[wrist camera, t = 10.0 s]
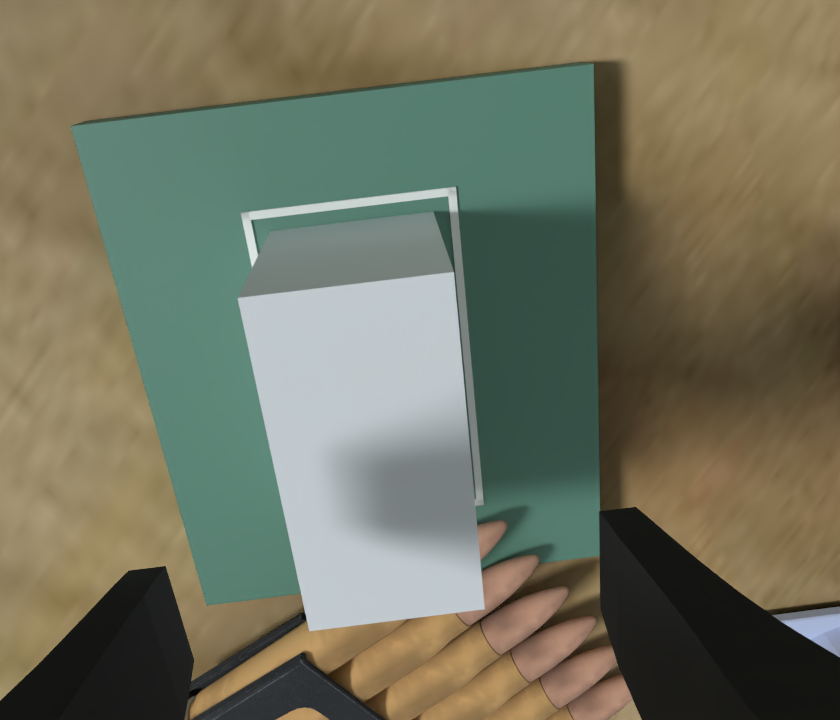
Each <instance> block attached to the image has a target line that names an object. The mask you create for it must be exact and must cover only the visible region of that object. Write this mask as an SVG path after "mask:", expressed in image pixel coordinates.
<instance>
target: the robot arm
mask: <svg viewBox="0 0 840 720" xmlns="http://www.w3.org/2000/svg"><path fill="white" fill-rule="evenodd" d="M599 540H600V602H601V611H602V615H603V618H604V621H605V625H606V628H607V631H608V635H609V638H610V641H611V645H612V648H613V651H614V654H615V657H616V660H617V663H618V666H619V668H620V671H621V673H622V675H623V678H624V680H625V682H626V685H627V687H628V689H629V691H630V694H631V696H632V698H633V701H634V703H635V705H636V707H637V710H638V712H639V714H640V716H641V719H642V720H840V607H832V608H824V609H817V610H809V611H801V612H793V613H785V614H778V615H771V614H770V613H768V612H767V611H765V610H764V609H762V608H761V607H759V606H758V605H757V604H755V603H754V602H752V601H751V600H749V599H748V598H747V597H745V596H744V595H742V594H741V593H740V592H738V591H737V590H736V589H734V588H733V587H732V586H731V585H729V584H728V583H727V582H725V581H724V580H723V579H722V578H720V577H719V576H718V575H717V574H715V573H714V572H713V571H711V570H710V569H709V568H708V567H706V566H705V565H704V564H703V563H701V562H700V561H699V560H698V559H696V558H695V557H694V556H693V555H692V554H690V553H689V552H688V551H687V550H686V549H684V548H683V547H682V546H681V545H680V544H679V543H677V542H676V541H675V540H674V539H673V538H671V537H670V536H669V535H668V534H667V533H666V532H664V531H663V530H662V529H661V528H660V527H659V526H658V525H656V524H655V523H654V522H653V521H652V520H651V519H649V518H648V517H647V516H646V515H645V514H643V513H642V512H641V511H640V510H639V509H637V508H636V507H632V508H624V509H616V510H608V511H600V512H599ZM193 663H194V659H193V655H192V652H191V649H190V645H189V642H188V639H187V635H186V632H185V629H184V626H183V622H182V619H181V616H180V612H179V609H178V606H177V603H176V599H175V596H174V593H173V589H172V586H171V583H170V580H169V576H168V573H167V570H166V566H163V567H155V568H147V569H139V570H131V571H128V572H127V573H126V574H125V575H124V576H123V577H122V578H121V579H120V580H119V581H118V582H117V583H116V584H115V585H114V586H113V587H112V588H111V589H110V590H109V591H108V592H107V593H106V594H105V595H104V596H103V598H102V599H101V600H100V601H99V602H98V603H97V604H96V605H95V606H94V607H93V608H92V609H91V610H90V611H89V612H88V613H87V615H86V616H85V617H84V618H83V619H82V620H81V621H80V622H79V623H78V624H77V625H76V626H75V627H74V628H73V629H72V630H71V631H70V632H69V633H68V634H67V635H66V637H65V638H64V639H63V640H62V641H61V642H60V643H59V644H58V645H57V646H56V647H55V648H54V649H53V650H52V651H51V652H50V653H49V654H48V655H47V656H46V657H45V658H44V659H43V660H42V661H41V662H40V663H39V664H38V665H37V666H36V667H35V668H34V669H33V670H32V671H31V672H30V673H29V674H28V675H27V676H26V677H25V678H24V679H23V680H22V681H21V682H20V683H18V684H17V685H16V686H15V687H14V688H13V689H12V690H11V691H10V692H9V693H8V694H7V695H6V696H5V697H4V698H3V699H2V700H1V701H0V720H185V715H186V709H187V703H188V697H189V691H190V684H191V677H192V670H193Z"/></svg>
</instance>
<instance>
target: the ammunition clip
mask: <svg viewBox="0 0 840 720" xmlns="http://www.w3.org/2000/svg"><path fill="white" fill-rule="evenodd" d="M507 526H508V524H507V522H506V521H505V520H497V521H491V522H486V523H483V524H480V525H477V529H478V540H479V551H480V561H481V560H482V559H483V558H484V557H485V556H486V555H487V554H488V553H489V552H490V550H491V549H492V548H493V547H494V546H495V545H496V544H497V543H498V541H499V540H500V539H501V537H502V536H503V534H504V532H505V531H506V529H507ZM539 560H540V558H539V556H538V555H536V554H530V555H523V556H519V557H515V558H512V559H509V560H506V561H503V562H500V563H498V564H495V565H493V566H490V567H488V568H486V569H484V570H482V571H481V573H482V584H483V595H484V606H485V609H483V610H475V611H467V612H459V613H451V614H443V615H435V616H427V617H419V618H411V619H403V620H395V621H388V622H380V623H372V624H364V625H356V626H348V627H340V628H332V629H324V630H316V631H309V628H308V623H307V619H306V615H305V614H303V613H302V614H299V615H298V616H296V617H295V618H293V619H291V620H290V621H288V622H287V623H285V624H283V625H282V626H280V627H279V628H277V629H275V630H274V631H272V632H270V633H269V634H267V635H266V636H264V637H262V638H261V639H259V640H258V641H256V642H254V643H253V644H251V645H250V646H248V647H246V648H245V649H243V650H241V651H240V652H238V653H237V654H235V655H233V656H232V657H230V658H229V659H227V660H225V661H224V662H222V663H221V664H219V665H217V666H216V667H214V668H212V669H211V670H209V671H208V672H206V673H204V674H203V675H201V676H200V677H198V678H196V679H195V680H193V681H192V682H191V684H190V691H189V697H188V703H187V709H186V715H185V720H608V719H609V718H611V717H612V716H613V715H615V714H616V713H617V712H619V711H620V710H621V709H622V708H623V707H624V706H626V705H627V704H628V703H629V702H630V701H631V700H632V699H633V698H632V696H631V694H630V691H629V689H628V687H627V685H626V682H625V680H624V678H623V675H622V674H621V675H618V676H614V677H611V678H609V679H606V680H603V681H601V682H599V683H597V682H598V681H599V680H600V679H601V678H602V677H603V676H604V675H605V674H606V673H607V672H608V671H609V670H610V669H611V668H612V667H613V666H614V665H615V663H616V662H617V660H616V657H615V654H614V651H613V648H612V645H607V646H602V647H598V648H595V649H591V650H588V651H585V652H582V653H580V654H577V655H575V656H573V657H571V658H569V659H566V660H564V659H565V658H566V657H568V656H569V655H570V654H571V653H572V652H573V651H574V650H575V649H576V648H577V647H578V646H579V645H580V644H581V643H582V642H583V641H584V640H585V639H586V638H587V637H588V636H589V634H590V633H591V632H592V630H593V629H594V627H595V625H596V623H597V619H596V617H595V616H584V617H578V618H574V619H570V620H567V621H564V622H561V623H558V624H555V625H553V626H550V627H548V628H546V629H544V630H542V631H540V632H538V633H536V634H534V635H532V636H530V635H531V634H532V633H534V632H535V631H536V630H537V629H539V628H540V627H541V626H542V625H543V624H544V623H545V622H546V621H547V620H548V619H549V618H550V617H551V616H552V615H553V614H554V613H555V612H556V611H557V610H558V609H559V608H560V606H561V605H562V604H563V602H564V601H565V599H566V598H567V596H568V594H569V589H568V587H567V586H559V587H552V588H547V589H544V590H541V591H538V592H535V593H532V594H529V595H526V596H524V597H522V598H519V599H517V600H515V601H513V602H511V603H509V604H507V605H505V606H503V607H501V608H499V609H498V610H496V611H494V612H493V613H491V614H490V615H488V616H486V617H485V618H483V619H481V618H482V617H484V616H485V615H487V614H488V613H490V612H491V611H493V610H494V609H495V608H497V607H498V606H499V605H500V604H501V603H503V602H504V601H505V600H506V599H508V598H509V597H510V596H511V595H512V594H513V593H514V592H515V591H516V590H517V589H518V588H519V587H520V586H521V585H522V584H523V583H524V582H525V581H526V580H527V579H528V578H529V576H530V575H531V574H532V572H533V571H534V569H535V568H536V566H537V565H538V563H539ZM529 636H530V637H529ZM527 637H528V638H527ZM563 660H564V661H563ZM561 661H562V662H561Z"/></svg>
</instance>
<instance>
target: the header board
mask: <svg viewBox="0 0 840 720" xmlns="http://www.w3.org/2000/svg"><path fill="white" fill-rule="evenodd" d="M71 129H72V132H73V136H74V139H75V143H76V146H77V150H78V153H79V157H80V160H81V164H82V168H83V171H84V175H85V178H86V182H87V185H88V189H89V192H90V196H91V199H92V203H93V206H94V210H95V213H96V217H97V220H98V224H99V227H100V231H101V235H102V238H103V242H104V245H105V249H106V252H107V256H108V259H109V263H110V266H111V270H112V273H113V277H114V280H115V284H116V287H117V291H118V295H119V298H120V302H121V305H122V309H123V312H124V316H125V319H126V323H127V326H128V330H129V333H130V337H131V340H132V344H133V347H134V351H135V354H136V358H137V362H138V365H139V369H140V372H141V376H142V379H143V383H144V386H145V390H146V393H147V397H148V400H149V404H150V407H151V411H152V414H153V418H154V421H155V425H156V429H157V432H158V436H159V439H160V443H161V446H162V450H163V453H164V457H165V460H166V464H167V467H168V471H169V474H170V478H171V481H172V485H173V488H174V492H175V496H176V499H177V503H178V506H179V510H180V513H181V517H182V520H183V524H184V527H185V531H186V534H187V538H188V541H189V545H190V548H191V552H192V556H193V559H194V563H195V566H196V570H197V573H198V577H199V580H200V584H201V587H202V591H203V594H204V598H205V601H206V605H214V604H222V603H230V602H238V601H246V600H254V599H262V598H270V597H278V596H285V595H293V594H301V591H300V586H299V582H298V577H297V572H296V568H295V563H294V558H293V554H292V549H291V544H290V540H289V535H288V530H287V526H286V521H285V516H284V512H283V507H282V503H281V498H280V493H279V489H278V484H277V479H276V475H275V470H274V465H273V461H272V456H271V451H270V447H269V442H268V437H267V433H266V428H265V424H264V419H263V414H262V410H261V405H260V400H259V396H258V391H257V386H256V382H255V377H254V372H253V368H252V363H251V358H250V354H249V349H248V345H247V340H246V335H245V331H244V326H243V321H242V317H241V312H240V307H239V303H238V296H239V294H240V292H241V290H242V288H243V286H244V284H245V282H246V279H247V277H248V275H249V273H250V271H251V269H252V267H253V265H254V263H255V261H256V259H257V257H258V255H259V253H260V251H261V249H262V247H263V244H264V242H265V240H266V238H267V236H268V234H269V232H270V231H274V230H282V229H290V228H299V227H307V226H315V225H324V224H332V223H341V222H349V221H357V220H366V219H374V218H382V217H391V216H399V215H408V214H416V213H424V212H434V215H435V218H436V221H437V224H438V227H439V230H440V233H441V236H442V239H443V242H444V244H445V247H446V250H447V253H448V256H449V259H450V262H451V265H452V268H453V271H454V279H455V290H456V301H457V312H458V322H459V333H460V344H461V355H462V366H463V377H464V388H465V399H466V410H467V420H468V431H469V442H470V453H471V464H472V475H473V486H474V497H475V508H476V518H477V525H480V524H483V523H486V522H491V521H497V520H505V521H506V522H507V524H508V526H507V529H506V531H505V532H504V534H503V536H502V537H501V539H500V540H499V541H498V543H497V544H496V545H495V546H494V547H493V548H492V549H491V550H490V552H489V553H488V554H487V555H486V556H485V557H484V558H483V559H482V560H481V561H480V562H481V571H482V570H484V569H486V568H488V567H490V566H493V565H495V564H498V563H500V562H503V561H506V560H509V559H512V558H515V557H519V556H523V555H530V554H536V555H538V556H539V558H540V560H539V563H546V562H554V561H562V560H570V559H578V558H585V557H593V556H600V540H599V512H600V473H599V402H598V332H597V261H596V191H595V120H594V64H592V63H586V62H577V63H569V64H561V65H552V66H544V67H536V68H527V69H519V70H510V71H502V72H494V73H485V74H477V75H468V76H460V77H452V78H443V79H435V80H426V81H418V82H410V83H401V84H393V85H384V86H376V87H368V88H359V89H351V90H342V91H334V92H326V93H317V94H309V95H300V96H292V97H284V98H275V99H267V100H258V101H250V102H242V103H233V104H225V105H216V106H208V107H200V108H191V109H183V110H174V111H166V112H158V113H149V114H141V115H132V116H124V117H116V118H107V119H99V120H90V121H84V122H81V123H78V124H76V125H73V126H71Z"/></svg>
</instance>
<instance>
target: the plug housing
mask: <svg viewBox="0 0 840 720" xmlns="http://www.w3.org/2000/svg"><path fill="white" fill-rule="evenodd" d="M238 303H239V307H240V312H241V317H242V321H243V326H244V331H245V335H246V340H247V345H248V349H249V354H250V358H251V363H252V368H253V372H254V377H255V382H256V386H257V391H258V396H259V400H260V405H261V410H262V414H263V419H264V424H265V428H266V433H267V437H268V442H269V447H270V451H271V456H272V461H273V465H274V470H275V475H276V479H277V484H278V489H279V493H280V498H281V503H282V507H283V512H284V516H285V521H286V526H287V530H288V535H289V540H290V544H291V549H292V554H293V558H294V563H295V568H296V572H297V577H298V582H299V586H300V591H301V595H302V600H303V605H304V609H305V614H306V619H307V623H308V628H309V631H316V630H324V629H332V628H340V627H348V626H356V625H364V624H372V623H380V622H388V621H395V620H403V619H411V618H419V617H427V616H435V615H443V614H451V613H459V612H467V611H475V610H483V609H485V606H484V595H483V584H482V573H481V562H480V551H479V540H478V529H477V518H476V508H475V497H474V486H473V475H472V464H471V453H470V442H469V431H468V420H467V410H466V399H465V388H464V377H463V366H462V355H461V344H460V333H459V322H458V312H457V301H456V290H455V279H454V271H453V268H452V265H451V262H450V259H449V256H448V253H447V250H446V247H445V244H444V242H443V239H442V236H441V233H440V230H439V227H438V224H437V221H436V218H435V215H434V212H424V213H416V214H408V215H399V216H391V217H382V218H374V219H366V220H357V221H349V222H341V223H332V224H324V225H315V226H307V227H299V228H290V229H282V230H274V231H270V232H269V234H268V236H267V238H266V240H265V242H264V244H263V247H262V249H261V251H260V253H259V255H258V257H257V259H256V261H255V263H254V265H253V267H252V269H251V271H250V273H249V275H248V277H247V279H246V282H245V284H244V286H243V288H242V290H241V292H240V294H239V296H238Z"/></svg>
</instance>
